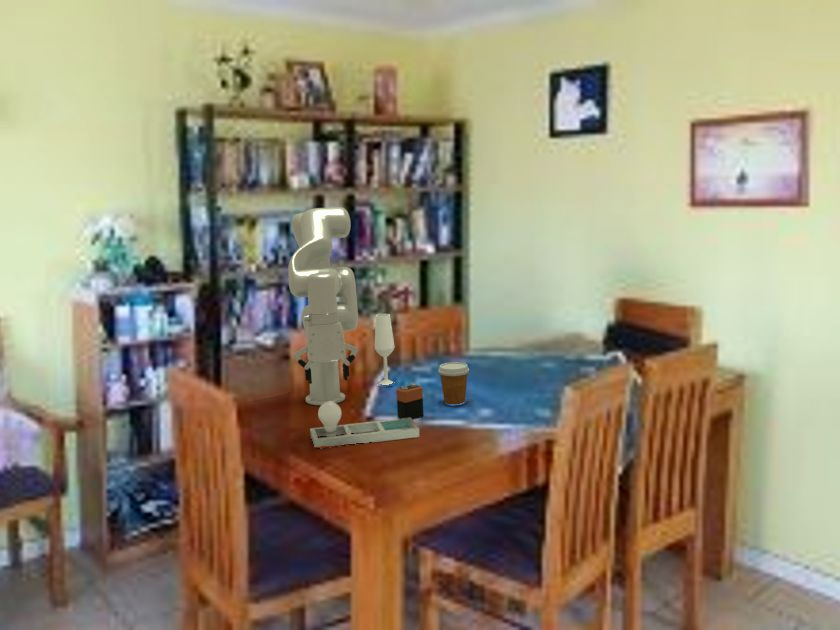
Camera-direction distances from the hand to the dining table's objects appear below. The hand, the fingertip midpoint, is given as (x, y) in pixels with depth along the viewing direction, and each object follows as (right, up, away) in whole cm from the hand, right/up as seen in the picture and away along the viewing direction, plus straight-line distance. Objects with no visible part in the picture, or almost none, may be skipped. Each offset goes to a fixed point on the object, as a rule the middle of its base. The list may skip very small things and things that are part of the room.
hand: (327, 380), depth 233 cm
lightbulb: (+1, -17, +4) cm, 17 cm away
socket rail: (+10, -16, +5) cm, 19 cm away
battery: (+22, -13, +21) cm, 33 cm away
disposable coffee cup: (+36, -10, +33) cm, 50 cm away
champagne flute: (+14, -6, +58) cm, 60 cm away
